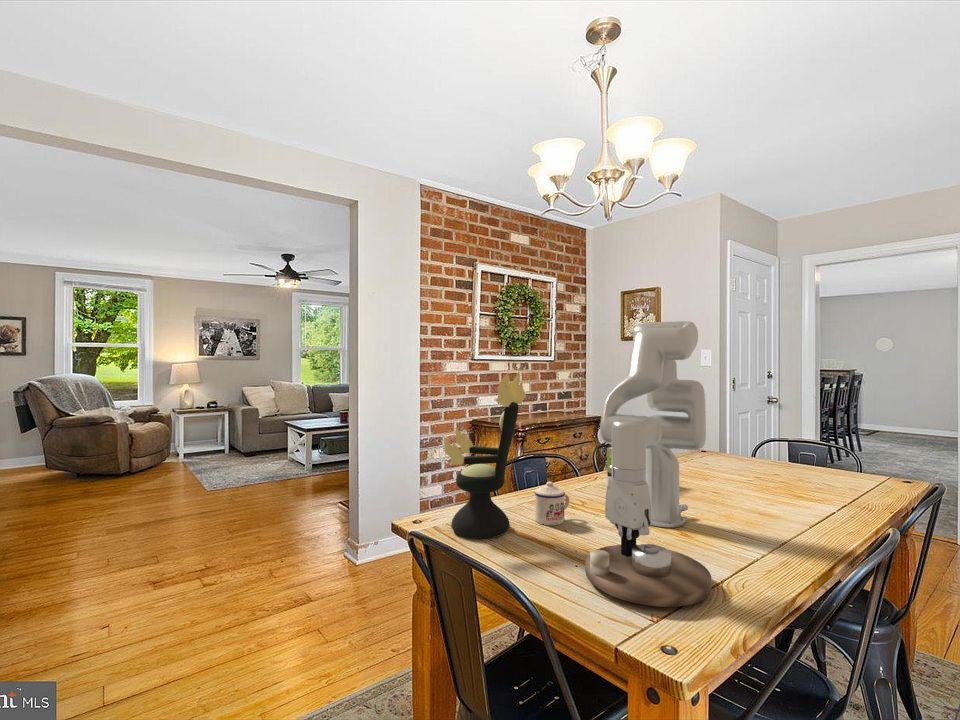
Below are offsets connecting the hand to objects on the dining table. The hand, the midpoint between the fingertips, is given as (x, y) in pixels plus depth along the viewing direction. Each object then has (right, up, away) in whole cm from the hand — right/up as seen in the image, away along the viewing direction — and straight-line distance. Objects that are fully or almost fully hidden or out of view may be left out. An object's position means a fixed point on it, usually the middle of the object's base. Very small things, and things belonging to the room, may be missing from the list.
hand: (628, 554), depth 111 cm
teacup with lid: (-12, -4, +36) cm, 39 cm away
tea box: (+23, -4, +77) cm, 80 cm away
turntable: (+3, -3, -4) cm, 6 cm away
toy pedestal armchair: (-32, -5, +29) cm, 43 cm away
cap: (+3, -1, -5) cm, 6 cm away
